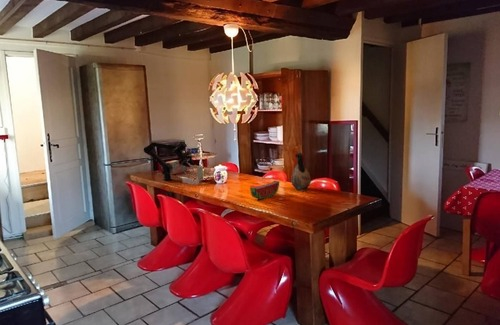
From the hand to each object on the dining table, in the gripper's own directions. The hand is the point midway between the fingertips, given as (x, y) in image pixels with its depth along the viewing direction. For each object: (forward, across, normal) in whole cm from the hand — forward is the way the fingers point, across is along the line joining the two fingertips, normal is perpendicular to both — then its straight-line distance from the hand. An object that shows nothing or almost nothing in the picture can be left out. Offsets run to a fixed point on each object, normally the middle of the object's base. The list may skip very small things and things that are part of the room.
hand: (192, 166), depth 335 cm
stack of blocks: (-13, +32, +32) cm, 47 cm away
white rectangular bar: (+11, -11, +8) cm, 17 cm away
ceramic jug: (+81, -23, -62) cm, 105 cm away
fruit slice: (+64, -47, -45) cm, 91 cm away
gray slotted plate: (+15, 0, +4) cm, 15 cm away
